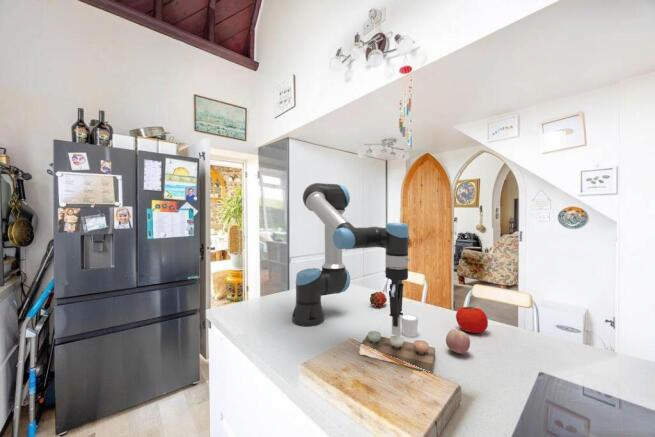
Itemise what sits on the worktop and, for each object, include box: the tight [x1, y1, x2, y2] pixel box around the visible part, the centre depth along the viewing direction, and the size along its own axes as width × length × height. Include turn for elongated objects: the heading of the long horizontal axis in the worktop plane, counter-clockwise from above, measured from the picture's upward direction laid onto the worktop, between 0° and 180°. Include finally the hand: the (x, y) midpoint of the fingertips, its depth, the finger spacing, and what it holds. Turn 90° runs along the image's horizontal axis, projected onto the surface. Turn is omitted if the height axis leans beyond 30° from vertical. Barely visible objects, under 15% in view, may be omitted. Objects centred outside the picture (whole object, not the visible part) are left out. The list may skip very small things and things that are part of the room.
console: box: [361, 334, 436, 373], centre depth 91 cm, size 24×11×3 cm, turn 63°
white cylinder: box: [400, 313, 419, 338], centre depth 108 cm, size 7×7×7 cm
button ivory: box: [389, 334, 405, 349], centre depth 91 cm, size 5×5×6 cm
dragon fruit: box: [369, 291, 388, 308], centre depth 142 cm, size 8×8×12 cm
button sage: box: [367, 330, 382, 344], centre depth 95 cm, size 5×5×6 cm
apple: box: [445, 329, 471, 355], centre depth 93 cm, size 8×8×8 cm
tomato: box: [455, 305, 489, 334], centre depth 111 cm, size 12×12×10 cm
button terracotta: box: [413, 339, 429, 355], centre depth 88 cm, size 5×5×6 cm
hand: (396, 334), depth 92 cm, fingers closed
